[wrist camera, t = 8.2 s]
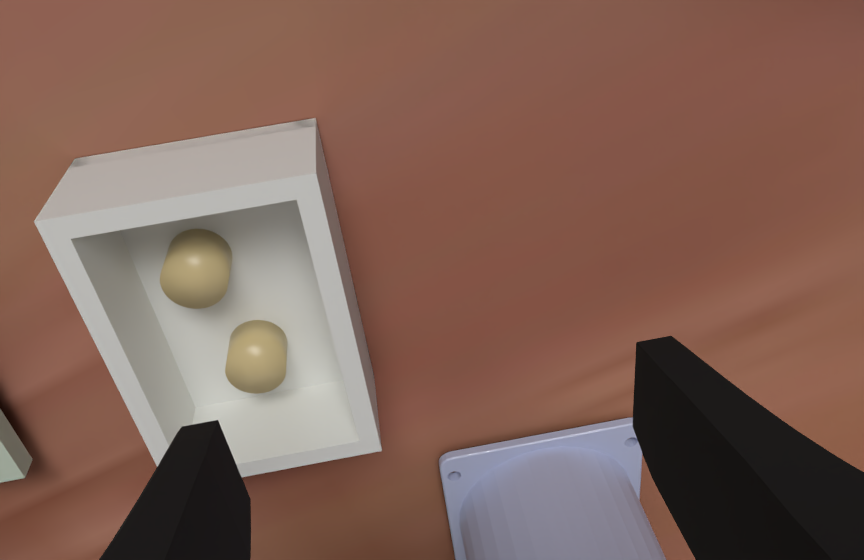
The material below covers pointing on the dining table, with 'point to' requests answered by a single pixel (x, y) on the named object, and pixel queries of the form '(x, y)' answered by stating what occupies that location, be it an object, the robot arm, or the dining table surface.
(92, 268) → the tub
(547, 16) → the dining table surface
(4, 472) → the lid
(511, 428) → the dining table surface
